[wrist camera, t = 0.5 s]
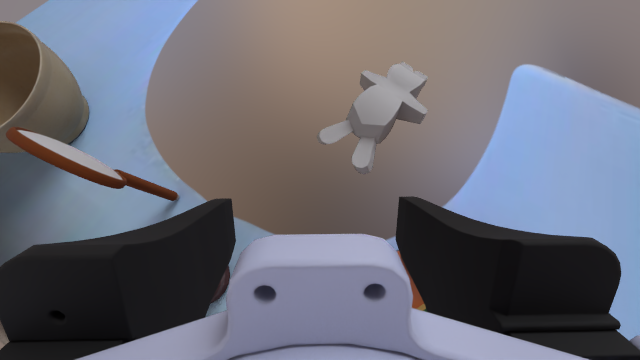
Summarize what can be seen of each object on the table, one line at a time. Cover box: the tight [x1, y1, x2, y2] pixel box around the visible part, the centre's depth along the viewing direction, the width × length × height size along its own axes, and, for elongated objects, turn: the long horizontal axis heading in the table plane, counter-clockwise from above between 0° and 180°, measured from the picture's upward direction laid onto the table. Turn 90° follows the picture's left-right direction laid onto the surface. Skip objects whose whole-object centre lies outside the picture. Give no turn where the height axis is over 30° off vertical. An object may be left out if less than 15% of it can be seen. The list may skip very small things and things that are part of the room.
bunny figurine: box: [317, 62, 428, 174], centre depth 38 cm, size 10×5×15 cm
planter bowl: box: [0, 21, 89, 153], centre depth 41 cm, size 16×16×11 cm
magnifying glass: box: [6, 127, 179, 201], centre depth 31 cm, size 9×2×20 cm, turn 61°
